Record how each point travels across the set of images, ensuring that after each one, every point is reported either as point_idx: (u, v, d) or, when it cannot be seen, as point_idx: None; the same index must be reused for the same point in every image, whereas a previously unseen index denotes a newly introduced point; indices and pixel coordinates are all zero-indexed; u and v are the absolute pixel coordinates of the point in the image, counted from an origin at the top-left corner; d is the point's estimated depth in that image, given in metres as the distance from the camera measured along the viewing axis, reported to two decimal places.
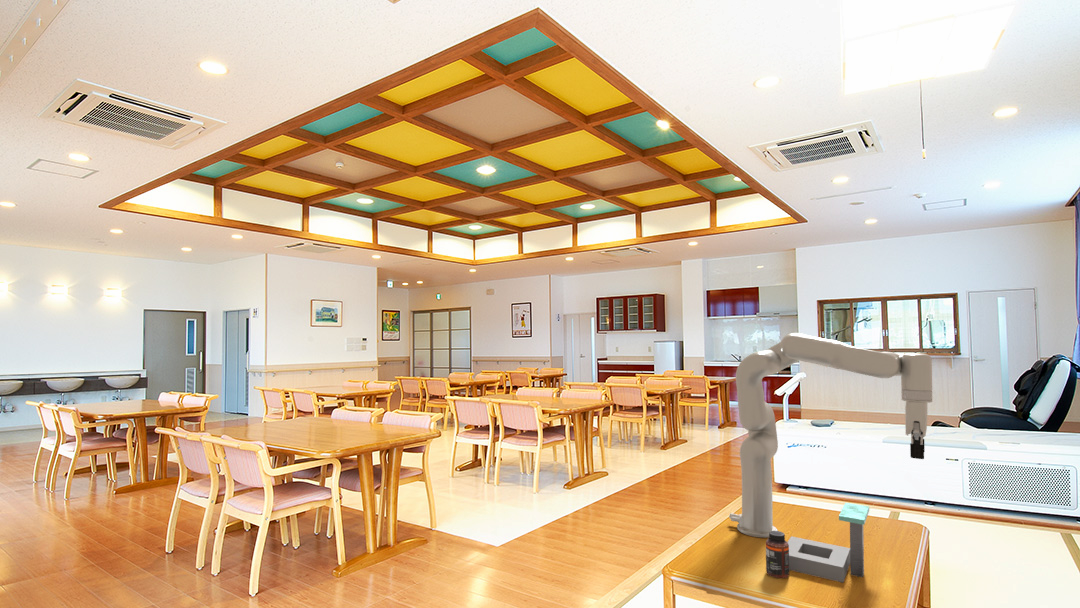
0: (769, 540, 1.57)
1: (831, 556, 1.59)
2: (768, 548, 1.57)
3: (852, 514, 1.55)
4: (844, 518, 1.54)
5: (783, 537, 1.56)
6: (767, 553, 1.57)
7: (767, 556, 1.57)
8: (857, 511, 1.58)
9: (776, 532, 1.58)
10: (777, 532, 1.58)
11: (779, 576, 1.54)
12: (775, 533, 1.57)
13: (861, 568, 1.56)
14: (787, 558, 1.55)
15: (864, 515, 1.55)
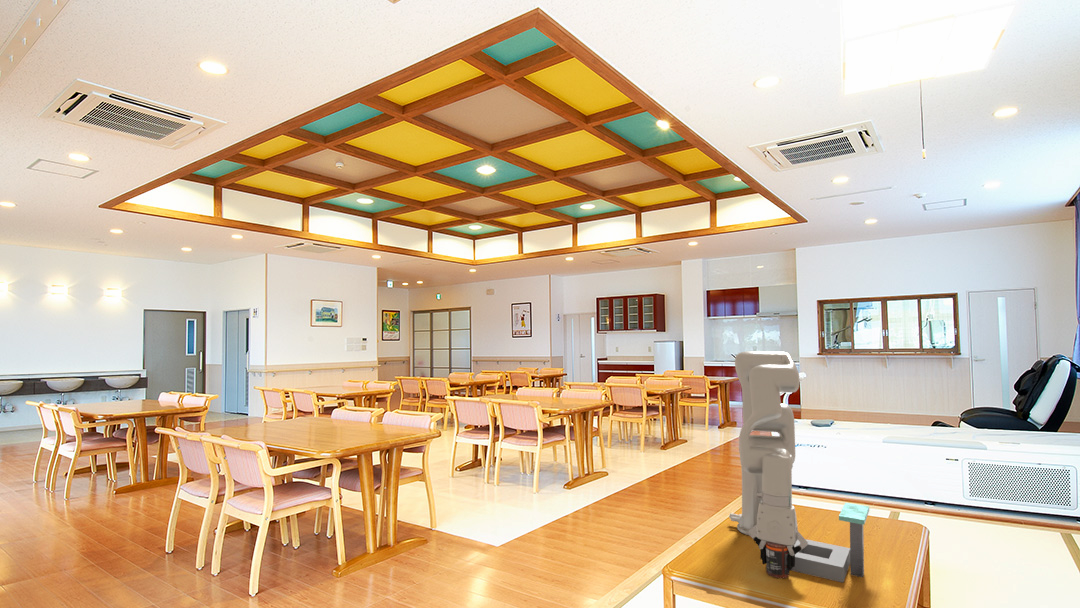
0: None
1: (831, 556, 1.59)
2: (768, 548, 1.57)
3: (852, 514, 1.55)
4: (844, 518, 1.54)
5: None
6: (767, 553, 1.57)
7: (767, 556, 1.57)
8: (857, 511, 1.58)
9: None
10: None
11: (779, 576, 1.54)
12: None
13: (861, 568, 1.56)
14: (787, 558, 1.55)
15: (864, 515, 1.55)
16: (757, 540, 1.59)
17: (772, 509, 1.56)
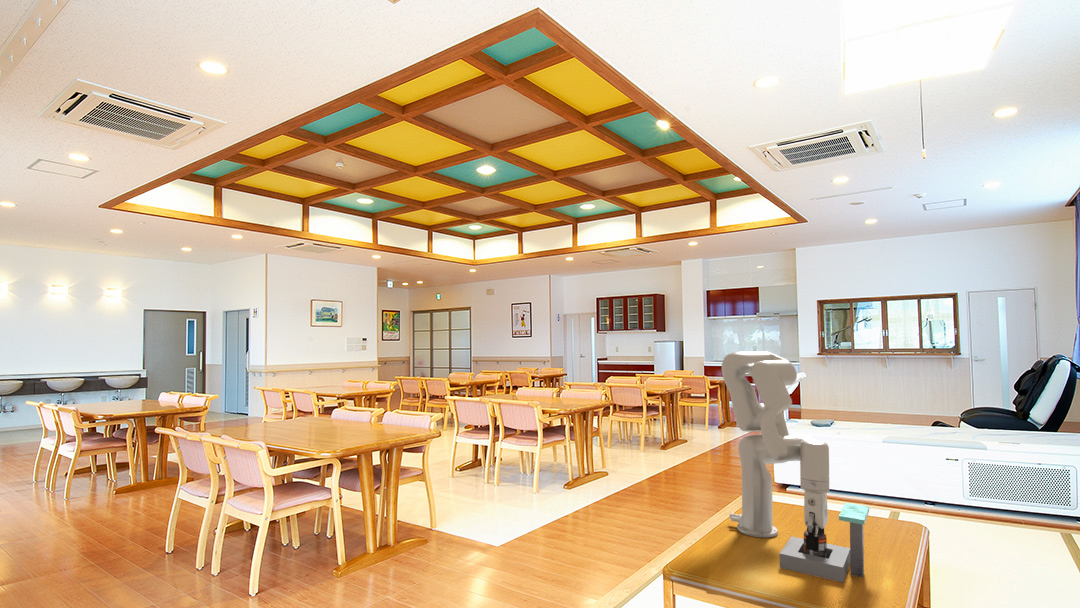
0: (819, 534, 1.62)
1: (831, 556, 1.59)
2: (822, 543, 1.61)
3: (852, 514, 1.55)
4: (844, 518, 1.54)
5: None
6: (821, 548, 1.61)
7: (821, 551, 1.61)
8: (857, 511, 1.58)
9: None
10: (813, 524, 1.64)
11: None
12: None
13: (861, 568, 1.56)
14: None
15: (864, 515, 1.55)
16: None
17: (824, 493, 1.62)
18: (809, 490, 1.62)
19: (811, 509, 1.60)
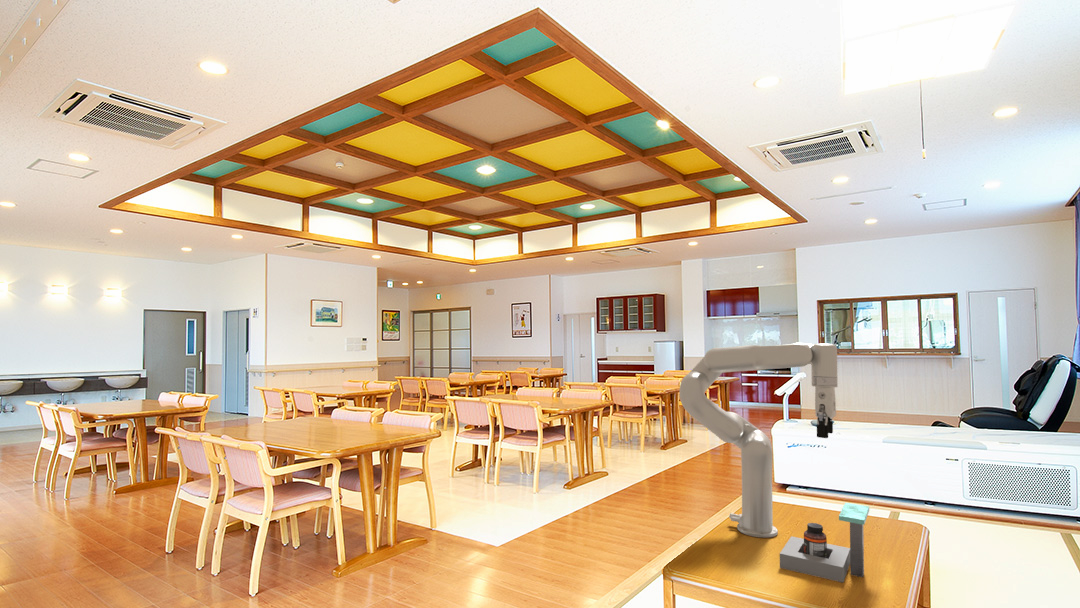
0: (819, 534, 1.62)
1: (831, 556, 1.59)
2: (822, 543, 1.61)
3: (852, 514, 1.55)
4: (844, 518, 1.54)
5: None
6: (821, 548, 1.61)
7: (821, 551, 1.61)
8: (857, 511, 1.58)
9: (813, 525, 1.64)
10: (814, 524, 1.64)
11: None
12: (815, 525, 1.64)
13: (861, 568, 1.56)
14: None
15: (864, 515, 1.55)
16: None
17: (833, 389, 1.82)
18: (819, 385, 1.82)
19: (821, 401, 1.80)
